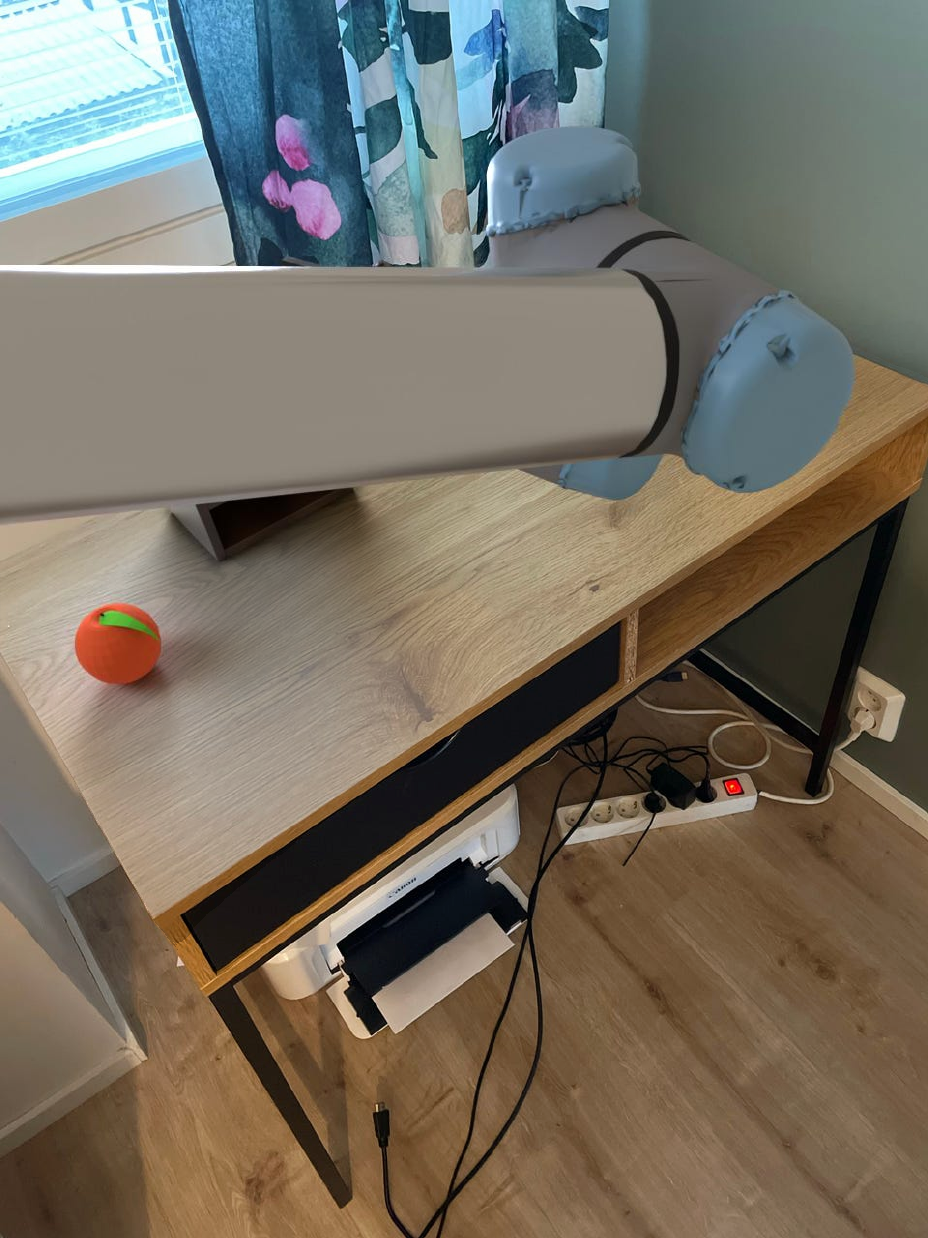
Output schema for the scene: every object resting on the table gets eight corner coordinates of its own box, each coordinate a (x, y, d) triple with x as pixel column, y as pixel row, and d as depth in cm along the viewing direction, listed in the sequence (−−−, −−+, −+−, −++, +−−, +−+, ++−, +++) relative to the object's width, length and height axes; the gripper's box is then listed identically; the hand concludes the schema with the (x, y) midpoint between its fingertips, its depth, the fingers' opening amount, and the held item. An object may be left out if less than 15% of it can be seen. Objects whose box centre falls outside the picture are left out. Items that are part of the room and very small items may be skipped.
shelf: (218, 562, 88) (170, 443, 78) (171, 512, 94) (121, 396, 84) (353, 489, 94) (325, 370, 84) (300, 447, 100) (267, 332, 90)
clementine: (196, 646, 80) (169, 589, 75) (160, 707, 76) (129, 651, 70) (119, 637, 82) (87, 581, 77) (79, 695, 78) (42, 639, 72)
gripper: (324, 530, 55) (115, 434, 65) (548, 345, 68) (344, 289, 78) (295, 426, 50) (73, 339, 60) (544, 247, 63) (326, 200, 73)
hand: (226, 311), depth 69 cm, fingers open, 13 cm apart
